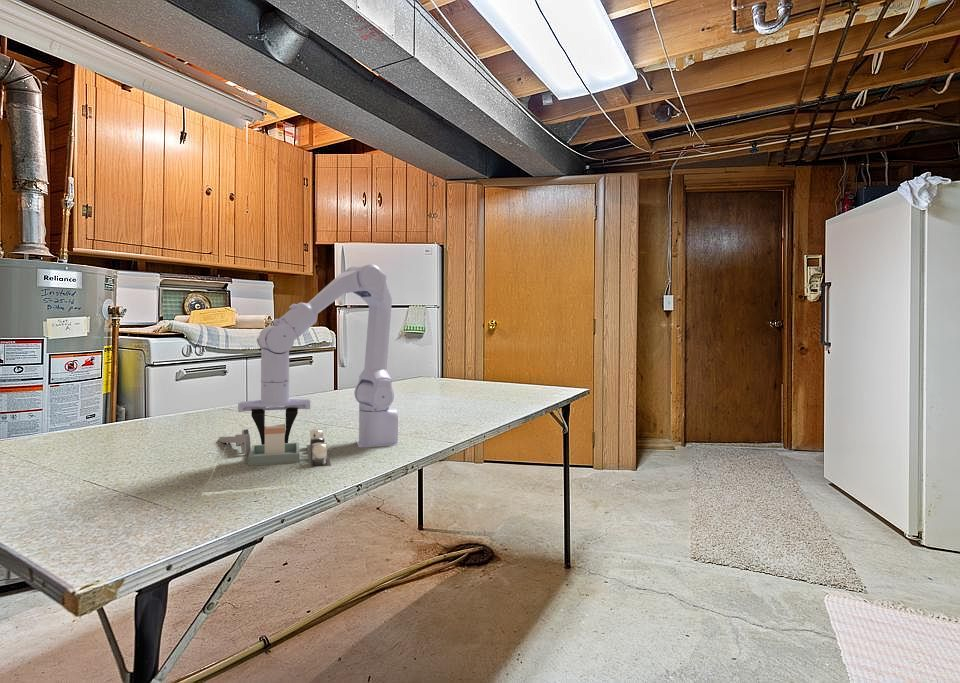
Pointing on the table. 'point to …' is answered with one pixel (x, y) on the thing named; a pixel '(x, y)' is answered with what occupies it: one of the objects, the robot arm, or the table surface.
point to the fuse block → (317, 449)
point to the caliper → (239, 441)
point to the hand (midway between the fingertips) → (275, 442)
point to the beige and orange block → (274, 439)
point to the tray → (260, 458)
